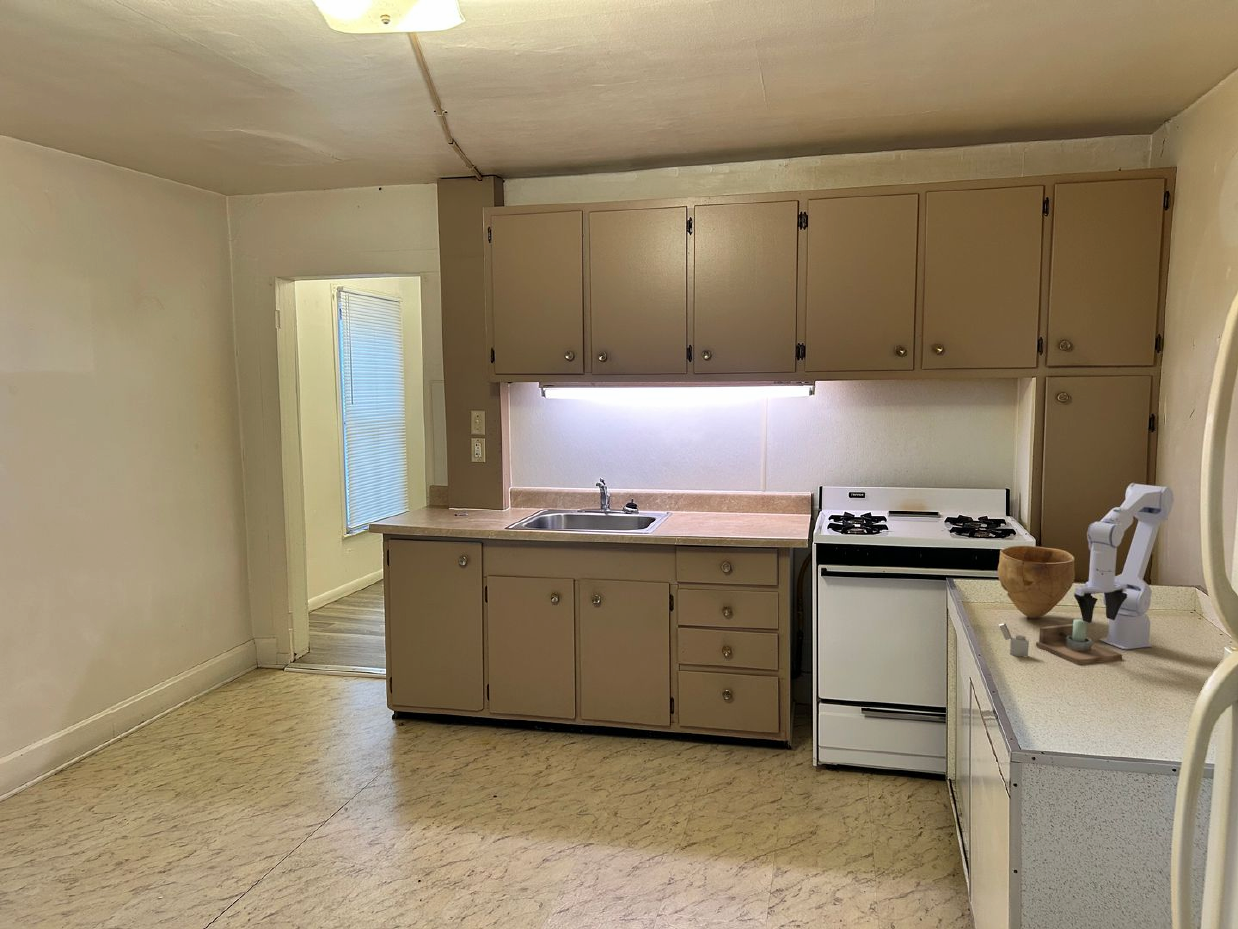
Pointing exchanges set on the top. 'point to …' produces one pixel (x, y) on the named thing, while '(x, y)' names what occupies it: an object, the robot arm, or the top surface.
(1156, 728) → the top surface
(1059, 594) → the bowl
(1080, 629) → the peg
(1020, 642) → the lighter
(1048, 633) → the cup bracket
